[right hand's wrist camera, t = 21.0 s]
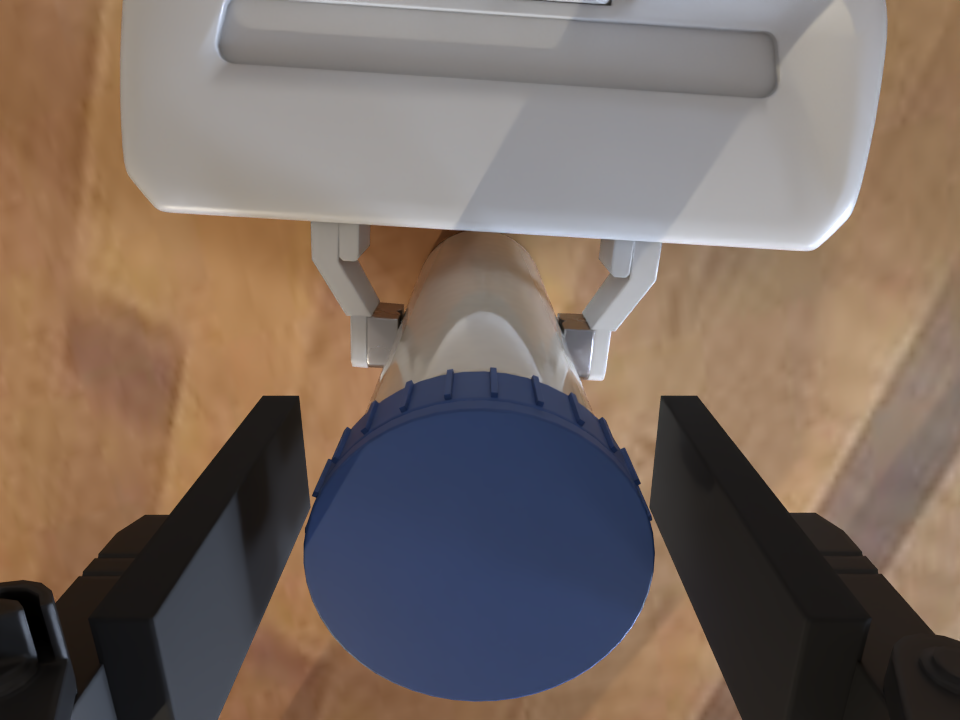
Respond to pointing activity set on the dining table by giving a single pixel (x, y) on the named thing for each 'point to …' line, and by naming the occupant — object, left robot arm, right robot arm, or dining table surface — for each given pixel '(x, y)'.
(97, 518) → the dining table surface
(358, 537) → the lid
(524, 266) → the cream cylinder
